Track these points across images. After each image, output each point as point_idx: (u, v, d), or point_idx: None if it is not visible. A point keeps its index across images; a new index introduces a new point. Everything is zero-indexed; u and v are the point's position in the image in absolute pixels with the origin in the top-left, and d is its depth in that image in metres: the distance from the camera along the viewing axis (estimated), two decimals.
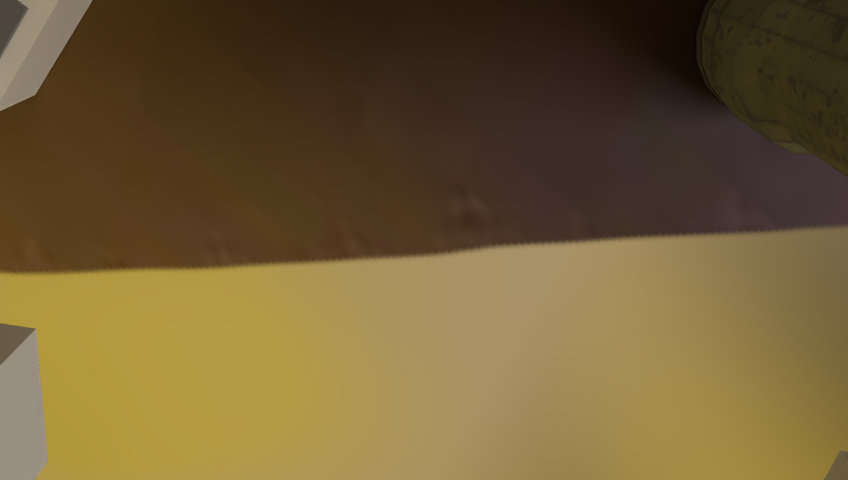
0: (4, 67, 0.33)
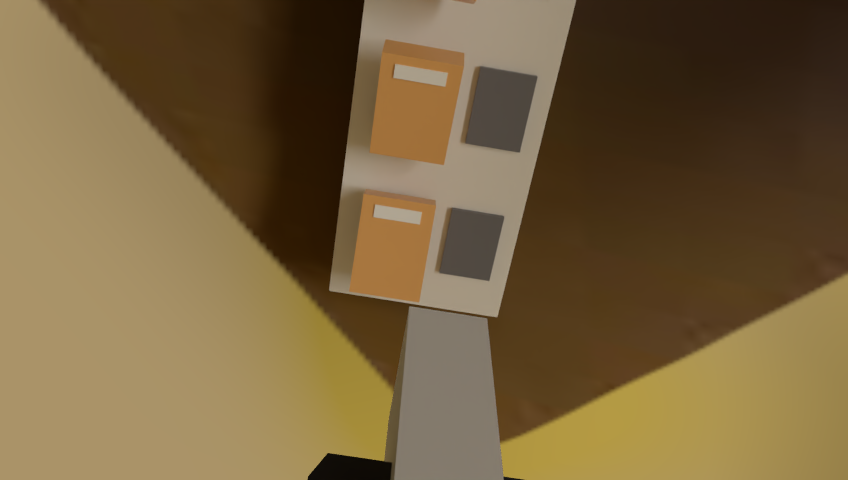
0: (497, 274, 0.36)
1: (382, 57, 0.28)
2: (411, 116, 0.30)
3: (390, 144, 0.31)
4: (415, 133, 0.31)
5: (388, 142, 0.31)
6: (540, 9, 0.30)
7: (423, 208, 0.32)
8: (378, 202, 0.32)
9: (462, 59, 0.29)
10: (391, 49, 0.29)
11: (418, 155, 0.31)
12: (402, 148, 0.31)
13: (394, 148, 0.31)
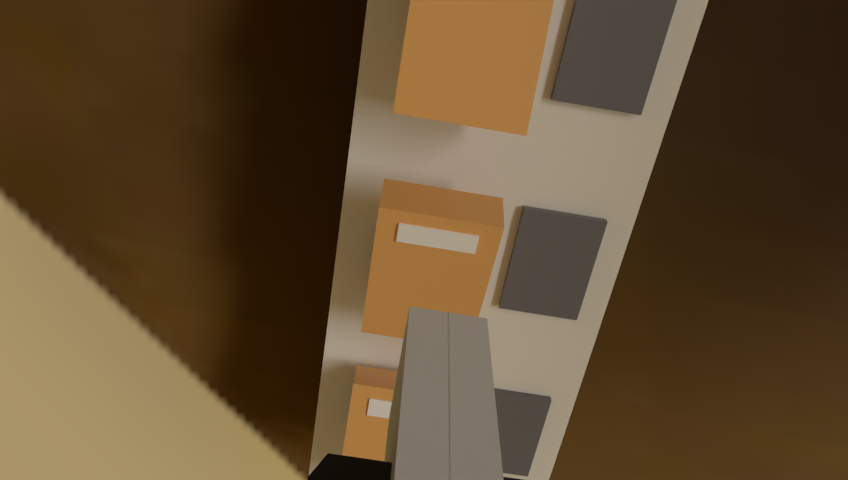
0: (538, 466, 0.26)
1: (379, 214, 0.19)
2: (422, 289, 0.20)
3: (391, 322, 0.21)
4: None
5: (388, 320, 0.21)
6: (615, 129, 0.20)
7: None
8: (374, 395, 0.22)
9: (501, 212, 0.19)
10: (392, 200, 0.19)
11: None
12: None
13: (398, 327, 0.21)
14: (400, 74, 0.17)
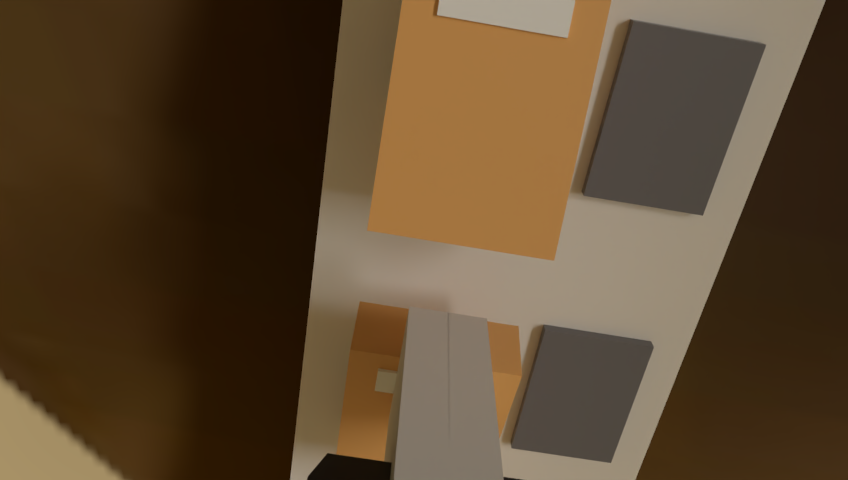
0: None
1: (351, 357, 0.14)
2: None
3: None
4: None
5: None
6: (666, 231, 0.15)
7: None
8: None
9: (516, 351, 0.14)
10: (370, 336, 0.14)
11: None
12: None
13: None
14: (377, 177, 0.12)
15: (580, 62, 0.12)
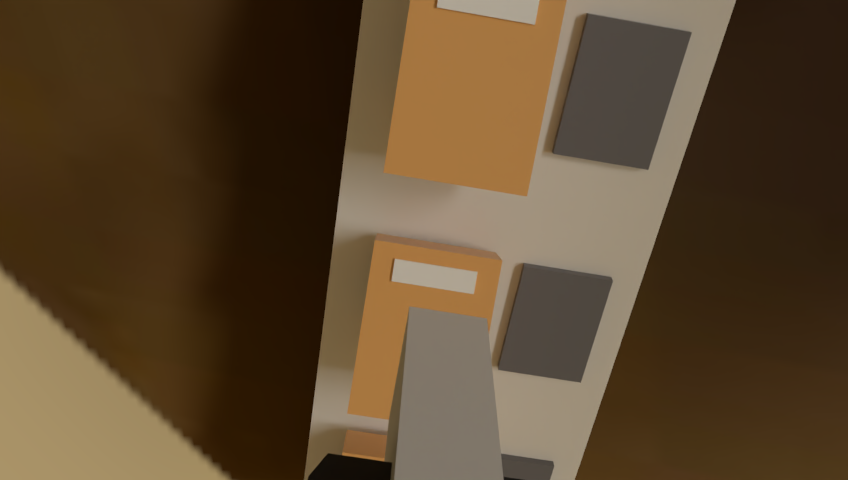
0: None
1: (375, 248, 0.18)
2: None
3: (382, 397, 0.19)
4: None
5: (379, 393, 0.19)
6: (620, 183, 0.19)
7: None
8: None
9: (496, 255, 0.19)
10: (388, 239, 0.19)
11: None
12: None
13: (390, 404, 0.19)
14: (391, 131, 0.16)
15: (544, 43, 0.15)
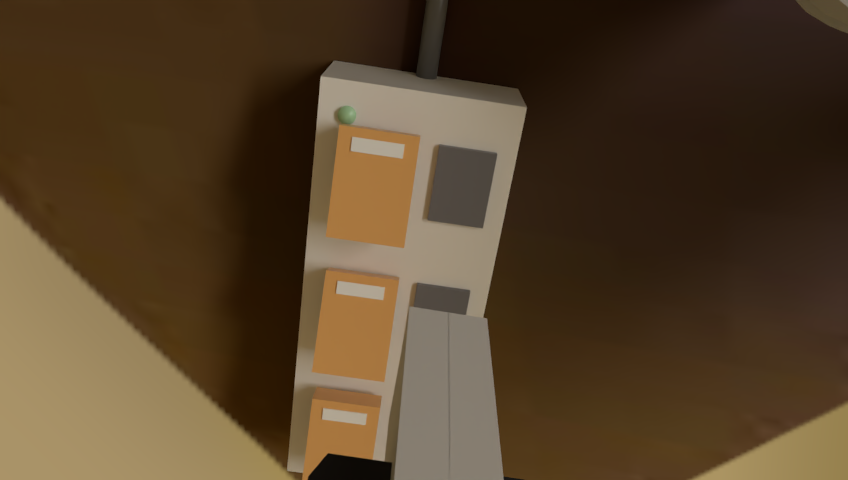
0: None
1: (326, 275, 0.32)
2: (352, 331, 0.32)
3: (332, 362, 0.32)
4: (356, 349, 0.32)
5: (330, 360, 0.32)
6: (469, 236, 0.33)
7: (368, 410, 0.35)
8: (326, 406, 0.35)
9: (397, 278, 0.33)
10: (334, 270, 0.32)
11: (359, 372, 0.32)
12: (343, 366, 0.32)
13: (336, 366, 0.32)
14: (329, 215, 0.30)
15: (408, 167, 0.29)
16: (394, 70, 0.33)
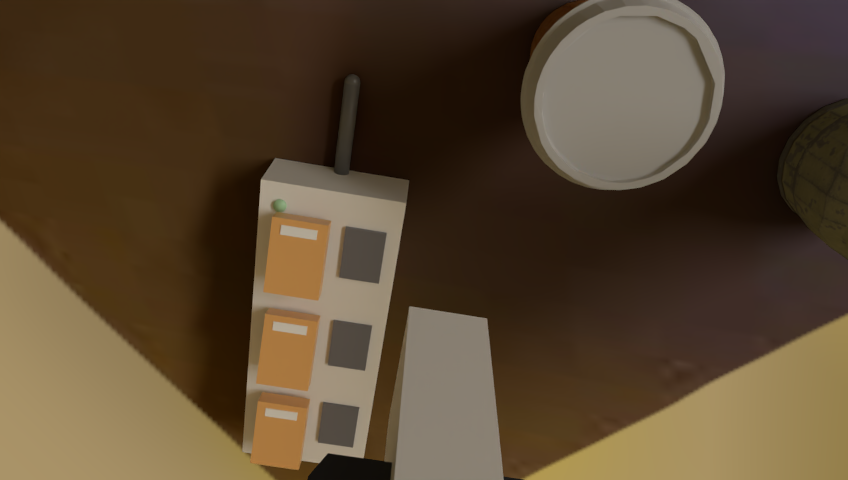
0: (358, 442, 0.51)
1: (265, 317, 0.45)
2: (284, 356, 0.45)
3: (270, 376, 0.45)
4: (287, 368, 0.45)
5: (269, 375, 0.45)
6: (369, 288, 0.46)
7: (298, 410, 0.48)
8: (268, 406, 0.48)
9: (317, 318, 0.45)
10: (271, 312, 0.45)
11: (289, 384, 0.46)
12: (278, 380, 0.45)
13: (273, 379, 0.45)
14: (265, 277, 0.42)
15: (320, 246, 0.42)
16: (319, 166, 0.46)
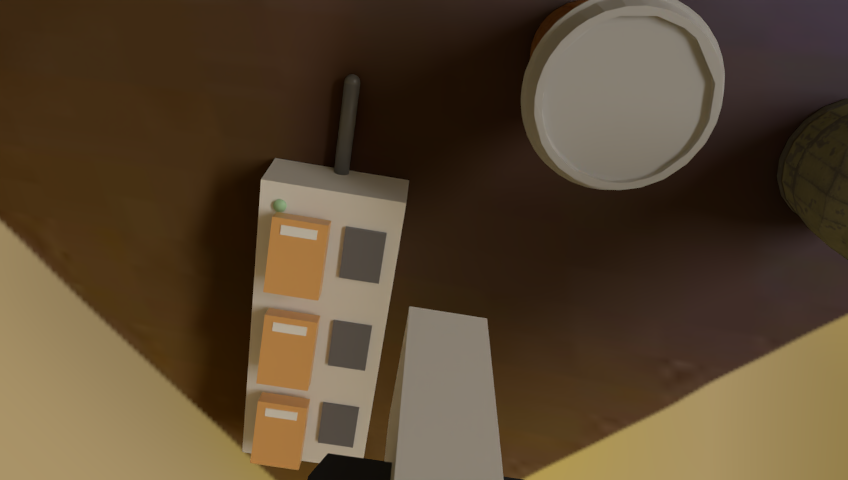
0: (358, 442, 0.51)
1: (265, 318, 0.45)
2: (284, 357, 0.45)
3: (270, 376, 0.46)
4: (287, 368, 0.45)
5: (269, 375, 0.46)
6: (369, 288, 0.46)
7: (298, 410, 0.48)
8: (268, 406, 0.48)
9: (317, 319, 0.45)
10: (271, 313, 0.45)
11: (289, 384, 0.46)
12: (278, 379, 0.46)
13: (273, 379, 0.46)
14: (265, 277, 0.42)
15: (320, 246, 0.42)
16: (318, 166, 0.46)
